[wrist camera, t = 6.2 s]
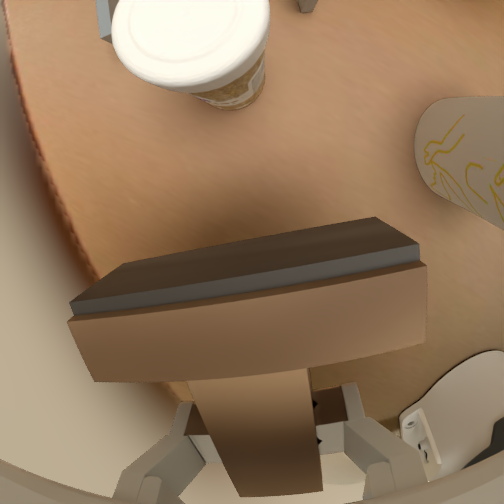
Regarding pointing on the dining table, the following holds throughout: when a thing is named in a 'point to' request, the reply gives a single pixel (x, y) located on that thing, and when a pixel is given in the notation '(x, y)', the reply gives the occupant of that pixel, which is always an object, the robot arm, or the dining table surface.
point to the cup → (464, 153)
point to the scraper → (257, 334)
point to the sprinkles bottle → (196, 46)
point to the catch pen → (108, 3)
